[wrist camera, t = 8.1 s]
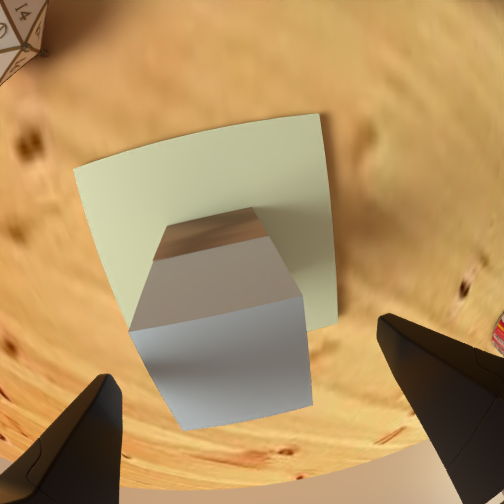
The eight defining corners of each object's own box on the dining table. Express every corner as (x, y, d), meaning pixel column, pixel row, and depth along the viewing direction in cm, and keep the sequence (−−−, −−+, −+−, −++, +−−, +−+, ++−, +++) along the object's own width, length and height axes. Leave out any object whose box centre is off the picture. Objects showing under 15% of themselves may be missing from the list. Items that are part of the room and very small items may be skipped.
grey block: (268, 235, 14) (303, 295, 9) (283, 329, 16) (312, 404, 11) (153, 261, 14) (128, 332, 9) (185, 350, 16) (183, 431, 11)
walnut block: (251, 206, 19) (268, 234, 14) (265, 282, 21) (283, 329, 16) (166, 225, 19) (152, 260, 14) (188, 299, 21) (185, 349, 16)
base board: (313, 114, 18) (318, 113, 17) (333, 316, 25) (337, 323, 24) (79, 167, 17) (73, 169, 16) (147, 356, 24) (146, 364, 23)
